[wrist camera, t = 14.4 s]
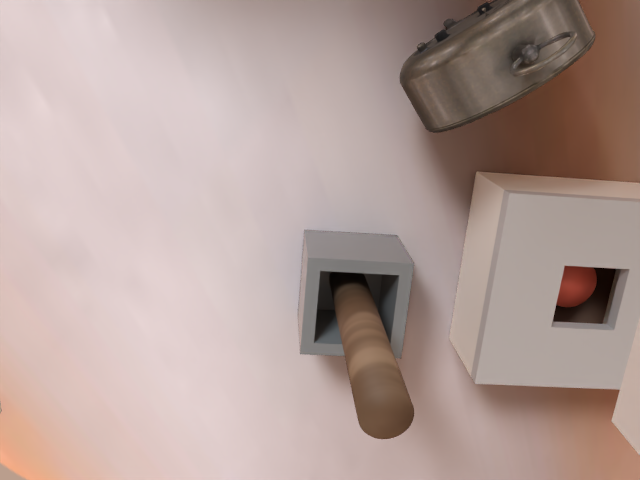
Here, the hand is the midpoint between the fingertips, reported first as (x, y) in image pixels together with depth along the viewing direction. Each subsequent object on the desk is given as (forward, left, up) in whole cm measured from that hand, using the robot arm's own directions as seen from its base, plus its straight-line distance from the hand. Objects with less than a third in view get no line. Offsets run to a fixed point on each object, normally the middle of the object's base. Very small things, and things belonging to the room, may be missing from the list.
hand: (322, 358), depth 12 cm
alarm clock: (-7, +11, -33) cm, 36 cm away
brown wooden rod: (+11, +5, -32) cm, 35 cm away
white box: (+9, +21, -33) cm, 40 cm away
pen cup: (+11, +5, -33) cm, 35 cm away
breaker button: (+9, +21, -32) cm, 39 cm away
